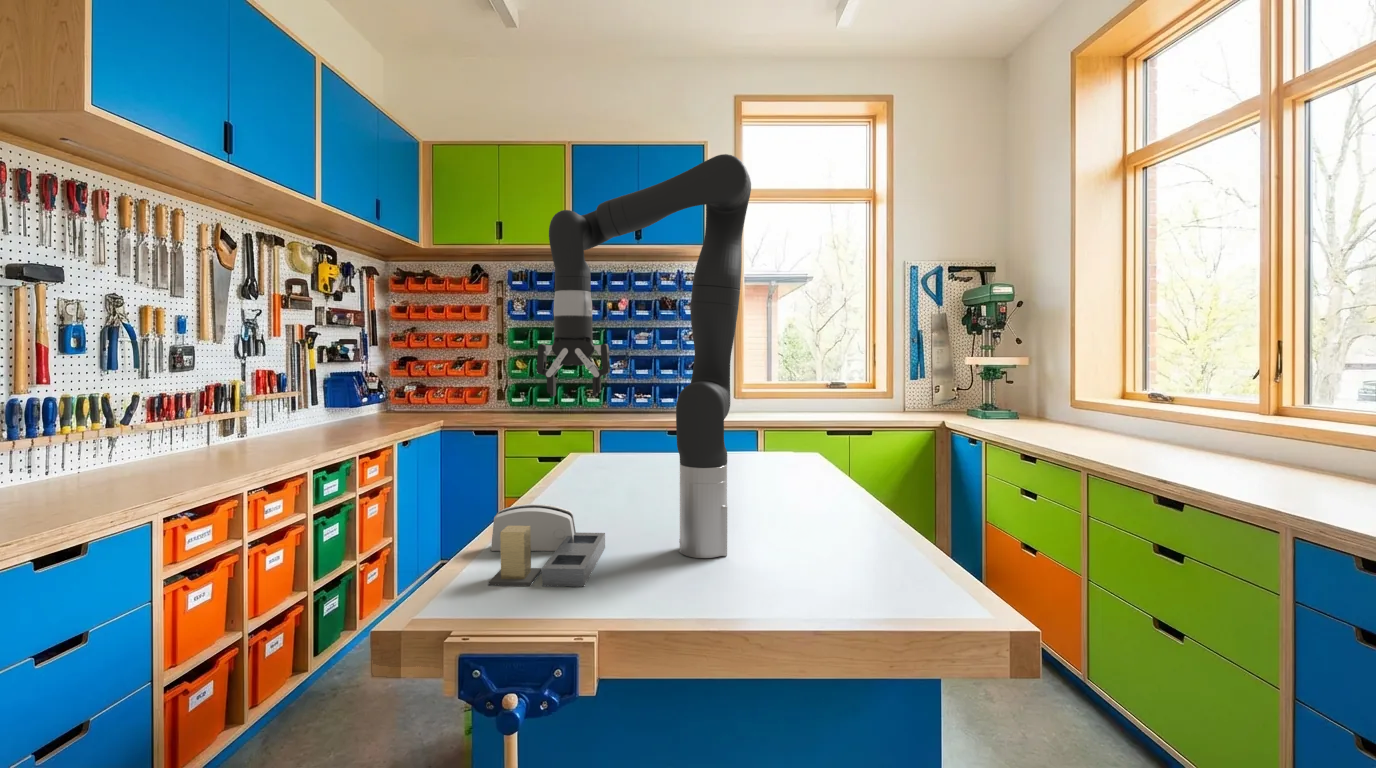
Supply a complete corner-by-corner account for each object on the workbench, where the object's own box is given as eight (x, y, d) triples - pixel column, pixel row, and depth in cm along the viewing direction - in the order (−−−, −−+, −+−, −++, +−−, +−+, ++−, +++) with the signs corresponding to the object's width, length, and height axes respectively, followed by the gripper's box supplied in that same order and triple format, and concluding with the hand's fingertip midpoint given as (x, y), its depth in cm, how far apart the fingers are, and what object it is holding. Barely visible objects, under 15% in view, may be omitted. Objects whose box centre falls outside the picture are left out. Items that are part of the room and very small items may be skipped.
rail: (605, 547, 126) (605, 532, 126) (583, 586, 105) (583, 569, 105) (570, 547, 127) (570, 532, 126) (542, 586, 106) (541, 568, 105)
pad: (541, 571, 113) (541, 568, 113) (530, 586, 106) (530, 582, 106) (502, 570, 113) (502, 567, 113) (488, 585, 106) (488, 581, 106)
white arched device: (579, 547, 129) (578, 500, 127) (576, 558, 125) (575, 510, 123) (496, 546, 129) (494, 500, 127) (489, 557, 124) (487, 509, 122)
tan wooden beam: (530, 570, 111) (530, 525, 111) (524, 579, 107) (524, 532, 107) (508, 570, 111) (507, 525, 111) (501, 578, 107) (500, 532, 107)
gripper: (611, 315, 130) (612, 394, 131) (542, 315, 131) (543, 394, 131) (605, 313, 123) (606, 397, 123) (532, 313, 123) (533, 397, 124)
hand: (574, 396), depth 127 cm, fingers open, 8 cm apart
